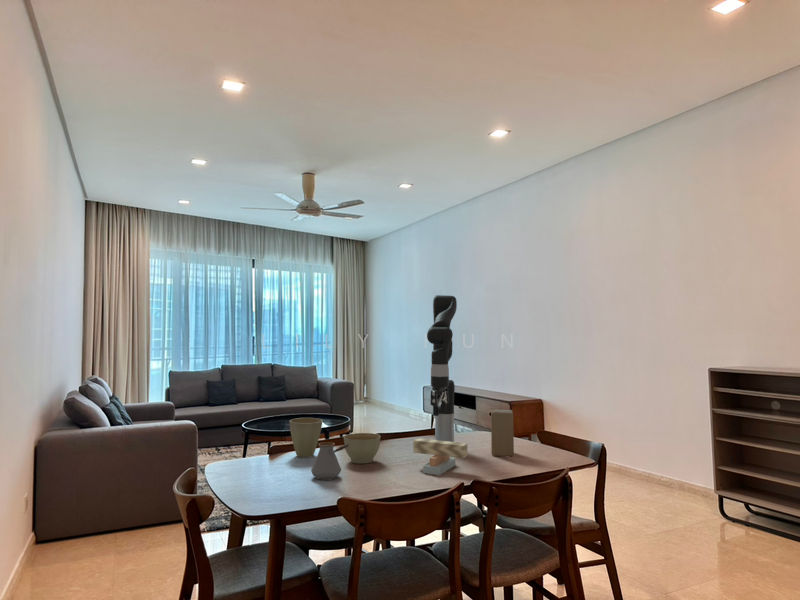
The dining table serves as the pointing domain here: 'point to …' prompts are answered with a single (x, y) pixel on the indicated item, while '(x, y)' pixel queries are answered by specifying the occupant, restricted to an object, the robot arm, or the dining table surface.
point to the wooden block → (502, 433)
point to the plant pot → (305, 435)
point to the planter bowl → (362, 446)
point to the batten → (440, 448)
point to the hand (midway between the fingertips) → (439, 414)
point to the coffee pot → (327, 462)
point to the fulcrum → (438, 465)
